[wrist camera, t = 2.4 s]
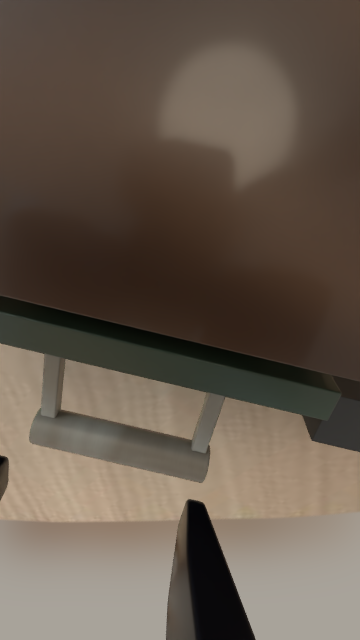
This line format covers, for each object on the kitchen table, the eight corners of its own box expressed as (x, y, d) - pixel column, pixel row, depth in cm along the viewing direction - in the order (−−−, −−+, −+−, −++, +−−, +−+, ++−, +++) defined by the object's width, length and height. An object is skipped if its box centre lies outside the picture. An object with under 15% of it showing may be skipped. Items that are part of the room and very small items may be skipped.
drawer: (257, 399, 20) (279, 513, 14) (32, 345, 20) (-56, 436, 13) (400, 39, 13) (598, -92, 6) (52, -51, 13) (-119, -285, 6)
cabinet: (307, 287, 18) (388, 389, 10) (35, 220, 18) (-116, 268, 10) (448, -60, 12) (916, -503, 4) (53, -165, 12) (-280, -860, 4)
